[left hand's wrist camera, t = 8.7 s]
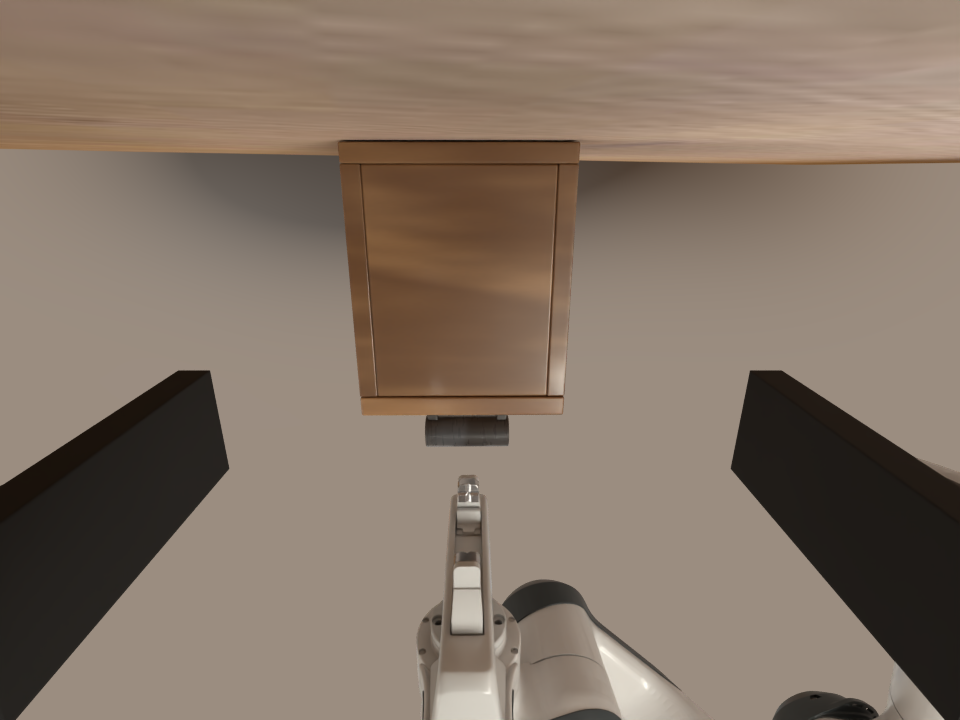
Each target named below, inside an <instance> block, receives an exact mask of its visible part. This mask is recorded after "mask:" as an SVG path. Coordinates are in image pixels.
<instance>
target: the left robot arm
mask: <svg viewBox="0 0 960 720" xmlns="http://www.w3.org/2000/svg"><path fill="white" fill-rule="evenodd" d="M228 470H229V465H228V460H227V455H226V450H225V445H224V440H223V434H222V429H221V424H220V419H219V414H218V409H217V404H216V399H215V394H214V389H213V384H212V379H211V374H210V371H177V372H175V373H174V374H172V375H171V376H169V377H168V378H166V379H165V380H163V381H162V382H160V383H158V384H157V385H155V386H154V387H152V388H151V389H149V390H148V391H146V392H145V393H143V394H142V395H140V396H139V397H137V398H135V399H134V400H132V401H131V402H129V403H128V404H126V405H125V406H123V407H122V408H120V409H119V410H117V411H116V412H114V413H113V414H111V415H109V416H108V417H106V418H105V419H103V420H102V421H100V422H99V423H97V424H96V425H94V426H92V427H91V428H89V429H88V430H86V431H85V432H83V433H82V434H80V435H79V436H77V437H76V438H74V439H73V440H71V441H70V442H68V443H66V444H65V445H63V446H62V447H60V448H59V449H57V450H56V451H54V452H53V453H51V454H50V455H48V456H46V457H45V458H43V459H42V460H40V461H39V462H37V463H36V464H34V465H33V466H31V467H30V468H28V469H27V470H25V471H23V472H22V473H20V474H19V475H17V476H16V477H14V478H13V479H11V480H10V481H8V482H7V483H5V484H3V485H1V486H0V720H16V719H17V718H18V716H19V715H20V714H21V713H22V712H23V710H24V709H25V708H26V707H27V706H28V705H29V703H30V702H31V701H32V700H33V699H34V698H35V696H36V695H37V694H38V693H39V692H40V690H41V689H42V688H43V687H44V686H45V685H46V683H47V682H48V681H49V680H50V679H51V678H52V676H53V675H54V674H55V673H56V672H57V671H58V669H59V668H60V667H61V666H62V665H63V663H64V662H65V661H66V660H67V659H68V658H69V656H70V655H71V654H72V653H73V652H74V651H75V649H76V648H77V647H78V646H79V645H80V643H81V642H82V641H83V640H84V639H85V638H86V636H87V635H88V634H89V633H90V632H91V631H92V629H93V628H94V627H95V626H96V625H97V624H98V622H99V621H100V620H101V619H102V618H103V616H104V615H105V614H106V613H107V612H108V611H109V609H110V608H111V607H112V606H113V605H114V604H115V602H116V601H117V600H118V599H119V598H120V596H121V595H122V594H123V593H124V592H125V591H126V589H127V588H128V587H129V586H130V585H131V584H132V582H133V581H134V580H135V579H136V578H137V577H138V575H139V574H140V573H141V572H142V571H143V569H144V568H145V567H146V566H147V565H148V564H149V562H150V561H151V560H152V559H153V558H154V557H155V555H156V554H157V553H158V552H159V551H160V549H161V548H162V547H163V546H164V545H165V544H166V542H167V541H168V540H169V539H170V538H171V537H172V535H173V534H174V533H175V532H176V531H177V529H178V528H179V527H180V526H181V525H182V524H183V522H184V521H185V520H186V519H187V518H188V517H189V515H190V514H191V513H192V512H193V511H194V510H195V508H196V507H197V506H198V505H199V504H200V502H201V501H202V500H203V499H204V498H205V497H206V495H207V494H208V493H209V492H210V491H211V490H212V488H213V487H214V486H215V485H216V484H217V482H218V481H219V480H220V479H221V478H222V477H223V475H224V474H225V473H226V472H227V471H228ZM731 470H732V471H733V472H734V473H735V474H736V475H737V477H738V478H739V479H740V480H741V481H742V482H743V484H744V485H745V486H746V487H747V488H748V490H749V491H750V492H751V493H752V494H753V495H754V497H755V498H756V499H757V500H758V501H759V502H760V504H761V505H762V506H763V507H764V508H765V510H766V511H767V512H768V513H769V514H770V515H771V517H772V518H773V519H774V520H775V521H776V522H777V524H778V525H779V526H780V527H781V528H782V529H783V531H784V532H785V533H786V534H787V535H788V537H789V538H790V539H791V540H792V541H793V542H794V544H795V545H796V546H797V547H798V548H799V549H800V551H801V552H802V553H803V554H804V555H805V557H806V558H807V559H808V560H809V561H810V562H811V564H812V565H813V566H814V567H815V568H816V569H817V571H818V572H819V573H820V574H821V575H822V577H823V578H824V579H825V580H826V581H827V582H828V584H829V585H830V586H831V587H832V588H833V589H834V591H835V592H836V593H837V594H838V595H839V596H840V598H841V599H842V600H843V601H844V602H845V604H846V605H847V606H848V607H849V608H850V609H851V611H852V612H853V613H854V614H855V615H856V616H857V618H858V619H859V620H860V621H861V622H862V624H863V625H864V626H865V627H866V628H867V629H868V631H869V632H870V633H871V634H872V635H873V636H874V638H875V639H876V640H877V641H878V642H879V643H880V645H881V646H882V647H883V648H884V649H885V651H886V652H887V653H888V654H889V655H890V656H891V658H892V659H893V660H894V661H895V662H896V663H897V665H898V666H899V667H900V668H901V669H902V671H903V672H904V673H905V674H906V675H907V676H908V678H909V679H910V680H911V681H912V682H913V683H914V685H915V686H916V687H917V688H918V689H919V691H920V692H921V693H922V694H923V695H924V696H925V698H926V699H927V700H928V701H929V702H930V703H931V705H932V706H933V707H934V708H935V709H936V710H937V712H938V713H939V714H940V715H941V716H942V718H943V719H944V720H960V484H959V483H957V482H955V481H953V480H950V479H948V478H946V477H944V476H943V475H941V474H940V473H938V472H937V471H935V470H933V469H932V468H930V467H929V466H927V465H926V464H924V463H923V462H921V461H920V460H918V459H917V458H915V457H914V456H912V455H910V454H909V453H907V452H906V451H904V450H903V449H901V448H900V447H898V446H897V445H895V444H894V443H892V442H891V441H889V440H887V439H886V438H884V437H883V436H881V435H880V434H878V433H877V432H875V431H874V430H872V429H870V428H869V427H868V426H866V425H864V424H863V423H861V422H860V421H858V420H857V419H855V418H854V417H852V416H851V415H849V414H848V413H846V412H844V411H843V410H841V409H840V408H838V407H837V406H835V405H834V404H832V403H831V402H829V401H828V400H826V399H825V398H823V397H821V396H820V395H818V394H817V393H815V392H814V391H812V390H811V389H809V388H808V387H806V386H804V385H803V384H802V383H800V382H798V381H797V380H795V379H794V378H792V377H791V376H789V375H788V374H786V373H785V372H783V371H750V374H749V379H748V384H747V389H746V394H745V399H744V404H743V409H742V414H741V419H740V424H739V430H738V435H737V440H736V445H735V450H734V455H733V460H732V465H731Z"/></svg>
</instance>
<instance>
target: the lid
mask: <svg viewBox="0 0 960 720" xmlns="http://www.w3.org/2000/svg"><path fill="white" fill-rule="evenodd" d="M563 405H564V397H563V396H548V395H547V394H546V395H518V396H362V397H361V409H362V415H427V416H426V423H425V441H426V446H508V444H509V419H508V415H556V414H557V415H558V414H563Z"/></svg>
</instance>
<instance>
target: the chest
mask: <svg viewBox="0 0 960 720" xmlns="http://www.w3.org/2000/svg"><path fill="white" fill-rule="evenodd" d="M338 151H339V162H340V163H341V164H340V175H341V186H342V198H343V209H344V220H345V231H346V243H347V254H348V265H349V276H350V288H351V299H352V310H353V321H354V332H355V344H356V355H357V366H358V377H359V388H360V396H518V395H546V394H547V395H548V396H563V395H564V391H565V375H566V359H567V343H568V327H569V311H570V296H571V280H572V264H573V249H574V233H575V217H576V201H577V185H578V169H579V165H578V163H579V153H580V142H338Z"/></svg>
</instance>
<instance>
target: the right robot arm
mask: <svg viewBox="0 0 960 720" xmlns="http://www.w3.org/2000/svg"><path fill="white" fill-rule="evenodd" d="M917 459H918V458H917ZM918 460H920V461H921V462H923V463H924V464H926V465H927V466H929V467H930V468H932V469H933V470H935V471H937V472H938V473H940V474H941V475H943V476H944V477H946V478H948V479H950V480H953V481H955V482H957V483H959V484H960V472H957V471H954V470H951V469H949V468H946V467H943V466H940V465H937V464H934V463H931V462H928V461H925V460H921V459H918ZM416 646H417V665H418V680H419V681H418V683H419V691H420V695H421V698H422V705H421V720H714V719H713V718H712V717H710V716H709V715H708V714H707V713H706V712H704V711H703V710H702V709H701V708H700V707H699V706H698V705H697V704H696V703H694V702H693V701H692V700H691V699H690V698H689V697H688V696H687V695H685V694H684V693H683V692H682V691H681V690H680V689H679V688H678V687H677V686H676V685H674V684H673V683H672V682H671V681H670V680H669V679H668V678H667V677H666V676H665V675H664V674H663V673H662V672H660V671H659V670H658V669H657V668H656V667H655V666H653V665H652V664H651V663H650V662H648V661H647V660H646V659H645V658H643V657H642V656H641V655H640V654H638V653H637V652H636V651H635V650H633V649H632V648H631V647H629V646H628V645H627V644H626V643H624V642H623V641H622V640H621V639H619V638H618V637H617V636H616V635H614V634H613V633H612V632H611V631H609V630H608V629H607V628H606V627H604V626H603V625H602V624H601V623H600V622H598V621H597V620H596V619H595V618H594V616H593V615H592V614H591V612H590V611H589V609H588V607H587V605H586V603H585V601H584V599H583V597H582V596H581V594H580V593H579V592H578V591H577V590H576V589H575V588H573V587H571V586H569V585H567V584H564V583H562V582H558V581H554V580H535V581H531V582H528V583H526V584H524V585H522V586H520V587H519V588H517V589H516V590H515V591H513V592H512V593H511V594H510V595H509V596H508V598H507V599H506V600H505V601H504V603H503V604H502V605H501V604H499V603H498V602H497V601H496V600H494V599H493V598H492V582H491V559H490V537H489V515H488V501H487V498H486V496H485V495H482V494H479V479H478V477H477V476H476V475H461V476H460V477H459V478H458V494H457V495H454V496H452V498H451V502H450V512H449V526H448V540H447V555H446V568H445V583H444V597H443V600H442V601H441V602H440V603H439V604H438V605H436V606H435V607H434V608H432V609H431V610H430V611H429V612H428V613H427V615H426V616H425V617H424V619H423V620H422V622H421V624H420V626H419V629H418V632H417V638H416ZM866 708H868V709H866ZM622 718H623V719H622ZM773 720H944V719H943V718H942V716H941V715H940V714H939V713H938V712H937V710H936V709H935V708H934V707H933V706H932V705H931V703H930V702H929V701H928V700H927V699H926V698H925V696H924V695H923V694H922V693H921V692H920V691H919V689H918V688H917V687H916V686H915V685H914V683H913V682H912V681H911V680H910V679H909V678H908V676H907V675H906V674H905V673H904V672H903V671H902V669H901V668H900V667H899V666H898V665H897V663H896V662H895V661H894V667H893V673H892V678H891V683H890V688H889V694H888V702H887V706H886V709H885V711H884V712H883V713H882V714H881V715H880V716H879V715H878V713H877V711H876V710H875V709H874V708H873V707H871V706H870V705H869V704H867V703H865V702H864V701H861V700H859V699H854V698H844V697H842V696H840V695H837V694H833V693H827V692H819V691H807V692H802V693H799V694H796V695H794V696H792V697H790V698H788V699H787V700H786V701H784V702H783V703H782V704H781V705H780V706H779V708H778V709H777V711H776V713H775V715H774V718H773Z"/></svg>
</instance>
